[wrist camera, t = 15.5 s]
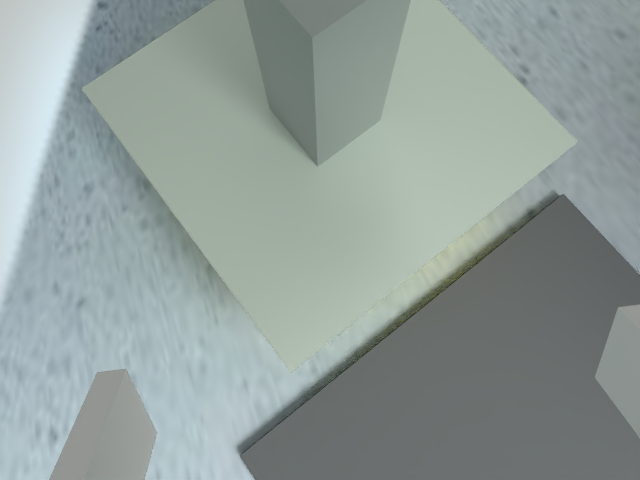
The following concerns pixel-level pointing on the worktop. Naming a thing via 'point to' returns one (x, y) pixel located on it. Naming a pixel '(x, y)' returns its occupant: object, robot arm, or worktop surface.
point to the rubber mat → (481, 376)
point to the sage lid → (324, 148)
